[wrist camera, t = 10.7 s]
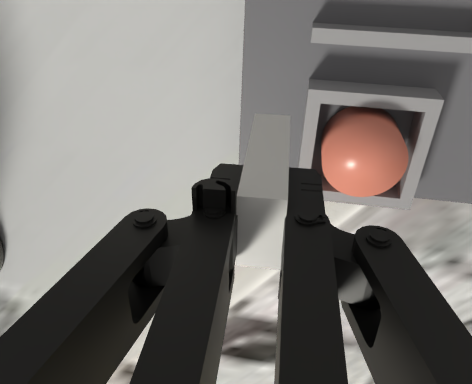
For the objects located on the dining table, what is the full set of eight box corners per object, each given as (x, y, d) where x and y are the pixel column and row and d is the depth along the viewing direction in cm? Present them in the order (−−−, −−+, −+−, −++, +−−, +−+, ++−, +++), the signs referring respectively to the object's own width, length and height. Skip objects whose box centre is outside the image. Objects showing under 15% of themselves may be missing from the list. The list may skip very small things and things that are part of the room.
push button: (316, 169, 29) (316, 192, 26) (326, 101, 26) (328, 119, 24) (389, 177, 28) (397, 201, 26) (408, 107, 26) (418, 127, 23)
